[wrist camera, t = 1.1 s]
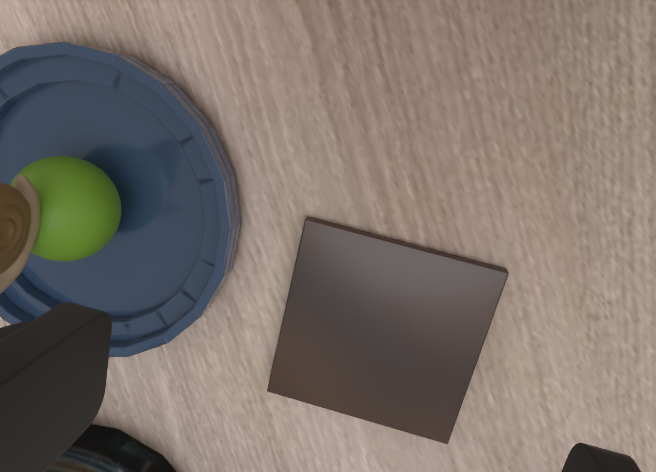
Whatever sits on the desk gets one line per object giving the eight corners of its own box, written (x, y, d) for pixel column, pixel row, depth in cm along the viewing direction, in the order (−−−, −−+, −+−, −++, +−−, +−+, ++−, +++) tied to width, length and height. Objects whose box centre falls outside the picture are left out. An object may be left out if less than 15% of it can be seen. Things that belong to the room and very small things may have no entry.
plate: (-35, 13, 29) (-70, 8, 27) (268, 88, 28) (256, 89, 26) (-40, 297, 34) (-69, 311, 32) (216, 371, 33) (202, 391, 31)
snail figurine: (42, 241, 32) (-166, 333, 20) (56, 136, 30) (-166, 172, 18) (127, 271, 31) (-36, 380, 20) (148, 167, 29) (-21, 223, 18)
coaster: (307, 216, 29) (305, 218, 29) (507, 269, 28) (509, 272, 28) (269, 386, 33) (266, 391, 32) (447, 438, 32) (447, 444, 31)
